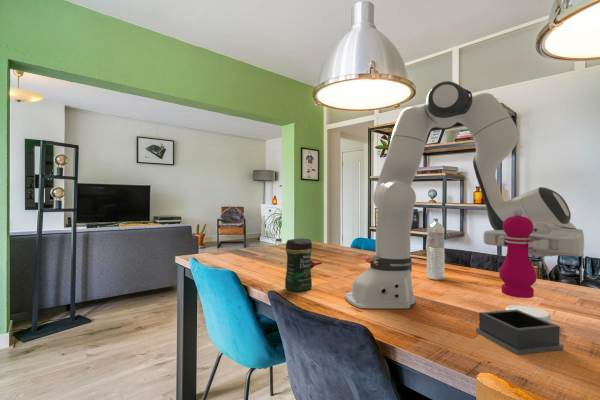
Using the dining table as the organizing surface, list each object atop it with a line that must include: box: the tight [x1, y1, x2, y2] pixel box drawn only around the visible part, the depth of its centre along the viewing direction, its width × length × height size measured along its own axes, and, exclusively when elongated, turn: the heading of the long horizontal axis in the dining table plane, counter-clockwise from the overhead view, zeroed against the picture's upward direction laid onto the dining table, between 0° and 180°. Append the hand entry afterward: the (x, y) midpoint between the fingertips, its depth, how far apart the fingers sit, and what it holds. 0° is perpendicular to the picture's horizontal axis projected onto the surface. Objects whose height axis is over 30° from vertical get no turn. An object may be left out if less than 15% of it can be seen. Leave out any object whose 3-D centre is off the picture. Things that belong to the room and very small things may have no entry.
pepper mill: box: [499, 209, 537, 299], centre depth 75 cm, size 7×7×20 cm
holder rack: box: [475, 310, 565, 356], centre depth 75 cm, size 12×12×5 cm
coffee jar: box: [284, 238, 313, 292], centre depth 118 cm, size 10×8×19 cm
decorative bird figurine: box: [310, 259, 323, 270], centre depth 141 cm, size 3×18×10 cm, turn 49°
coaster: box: [505, 304, 552, 323], centre depth 86 cm, size 10×10×4 cm
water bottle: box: [426, 218, 446, 281], centre depth 134 cm, size 7×7×25 cm
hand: (515, 243), depth 75 cm, fingers closed on pepper mill, 5 cm apart
